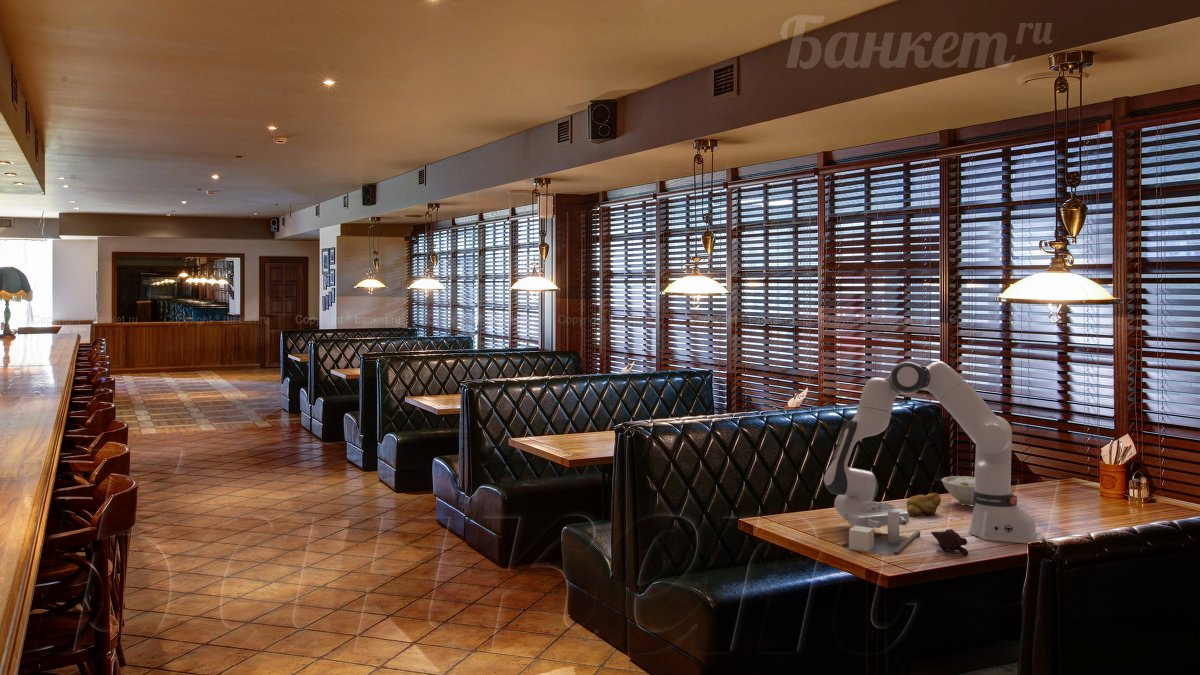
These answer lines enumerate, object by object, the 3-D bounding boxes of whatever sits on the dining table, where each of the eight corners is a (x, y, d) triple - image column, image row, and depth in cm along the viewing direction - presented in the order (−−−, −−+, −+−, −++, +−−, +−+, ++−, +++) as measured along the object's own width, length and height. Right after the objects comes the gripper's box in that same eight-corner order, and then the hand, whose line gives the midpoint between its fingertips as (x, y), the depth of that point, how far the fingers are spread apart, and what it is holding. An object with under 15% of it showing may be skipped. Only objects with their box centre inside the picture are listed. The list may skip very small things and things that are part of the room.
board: (905, 545, 289) (905, 511, 288) (890, 558, 274) (890, 523, 274) (861, 538, 297) (861, 505, 296) (845, 552, 282) (845, 517, 281)
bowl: (1007, 508, 336) (1007, 482, 335) (960, 511, 332) (960, 484, 331) (975, 497, 355) (975, 472, 354) (931, 500, 351) (931, 474, 350)
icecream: (921, 526, 288) (956, 542, 274) (938, 518, 291) (975, 533, 277) (923, 546, 290) (959, 562, 276) (941, 538, 292) (977, 554, 279)
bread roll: (916, 518, 323) (916, 496, 322) (897, 512, 332) (897, 491, 331) (943, 514, 328) (943, 493, 328) (924, 509, 337) (924, 487, 336)
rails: (920, 537, 299) (920, 531, 299) (897, 558, 275) (897, 552, 275) (868, 530, 308) (868, 524, 308) (842, 550, 285) (842, 543, 285)
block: (873, 546, 284) (873, 528, 283) (868, 551, 279) (868, 532, 278) (854, 544, 287) (854, 525, 287) (848, 548, 282) (848, 529, 282)
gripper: (840, 507, 299) (863, 517, 286) (894, 502, 305) (919, 511, 291) (840, 525, 299) (863, 536, 286) (893, 520, 305) (919, 531, 292)
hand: (892, 524), depth 289 cm, fingers open, 8 cm apart
